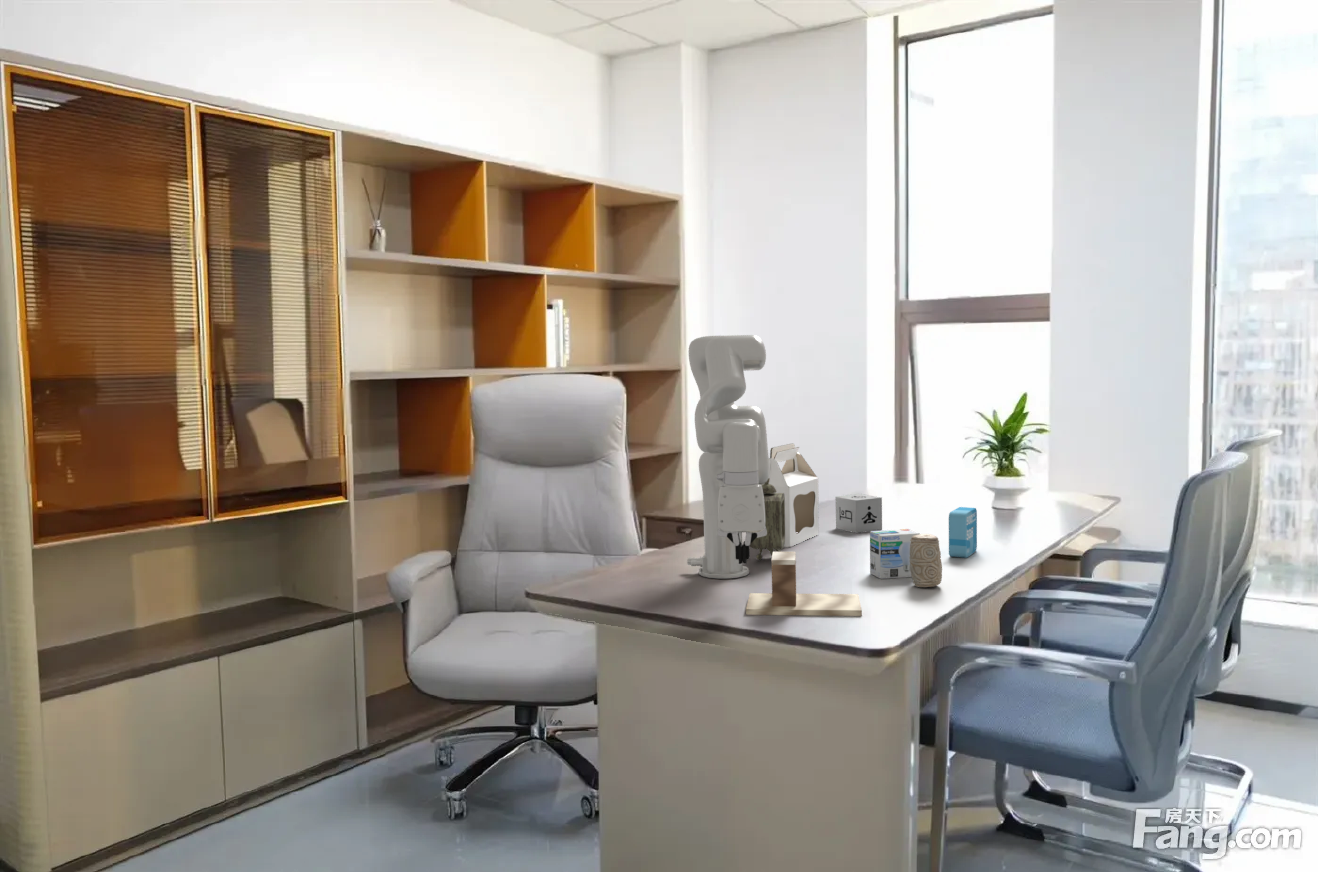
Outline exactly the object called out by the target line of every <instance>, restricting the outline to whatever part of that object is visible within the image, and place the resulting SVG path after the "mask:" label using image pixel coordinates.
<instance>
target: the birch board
mask: <svg viewBox="0 0 1318 872" xmlns="http://www.w3.org/2000/svg"><path fill="white" fill-rule="evenodd" d="M748 595H749V596H748V600H747V604H746V608H745V615H747V616H748V615H749V616H750V615H753V616H821V617H822V616H831V617H833V616H834V617H835V616H836V617H837V616H838V617H862V616H863V615H862V614H863V613H862V612H863V609H862V605H861V600H860V595H859V593H857V594H856V593H796V607H795V606H772V592H771V593H770V592H769V593H766V592H765V593H761V592H760V593H758V592H757V593H756V592H755V593H754V592H750V593H749V594H748Z"/></svg>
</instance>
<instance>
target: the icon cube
mask: <svg viewBox="0 0 1318 872" xmlns="http://www.w3.org/2000/svg"><path fill="white" fill-rule="evenodd" d="M836 528H837V529H838V530H841V531H846V532H849V531H852V532H851V533H854V532H856V533H855V534H859V533H858V532H861V533H866V532H865V531H868V532H870V531H883V497H880V496H876V495H869V494H862V493H857V494H850V495H849V494H847V495H841V496H835V529H836Z"/></svg>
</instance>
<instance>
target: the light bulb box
mask: <svg viewBox="0 0 1318 872" xmlns="http://www.w3.org/2000/svg"><path fill="white" fill-rule="evenodd" d="M918 534H921V533H920V532H918V531H916V530H912V529H911V528H902V529H887V530H883V529H882V530H876V531H869V561H870V562H869V574H871V575H873V576H874V577H877V578H878V579H881V580H883V579H898V578H899V579H900V578H912V576H911V572H910V561H909V560H910V559H909V557H910V546H911V545H910V543H911V541H910V540H911V539H912V538H911V537H912V536H914V535H918Z"/></svg>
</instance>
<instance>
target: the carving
mask: <svg viewBox="0 0 1318 872" xmlns="http://www.w3.org/2000/svg"><path fill="white" fill-rule="evenodd" d="M911 538H912V539H911V540H910V541H911V543H910V545H911V546H910V557H909V559H910V560H909V561H910V572H911V576H912V577H911V579H912V583H913V584H914V587H918V588H933V587H936V586H939V585H941V583H942V578H943V564H942V559H941V558H942V557H941V556H942V555H941V554H942V553H941V552H942V551H941V549H940V543H939V542H940V540H939V538H938V536H937V535H934V534H929V533H920V534H918V535H914V536H912V537H911Z"/></svg>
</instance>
